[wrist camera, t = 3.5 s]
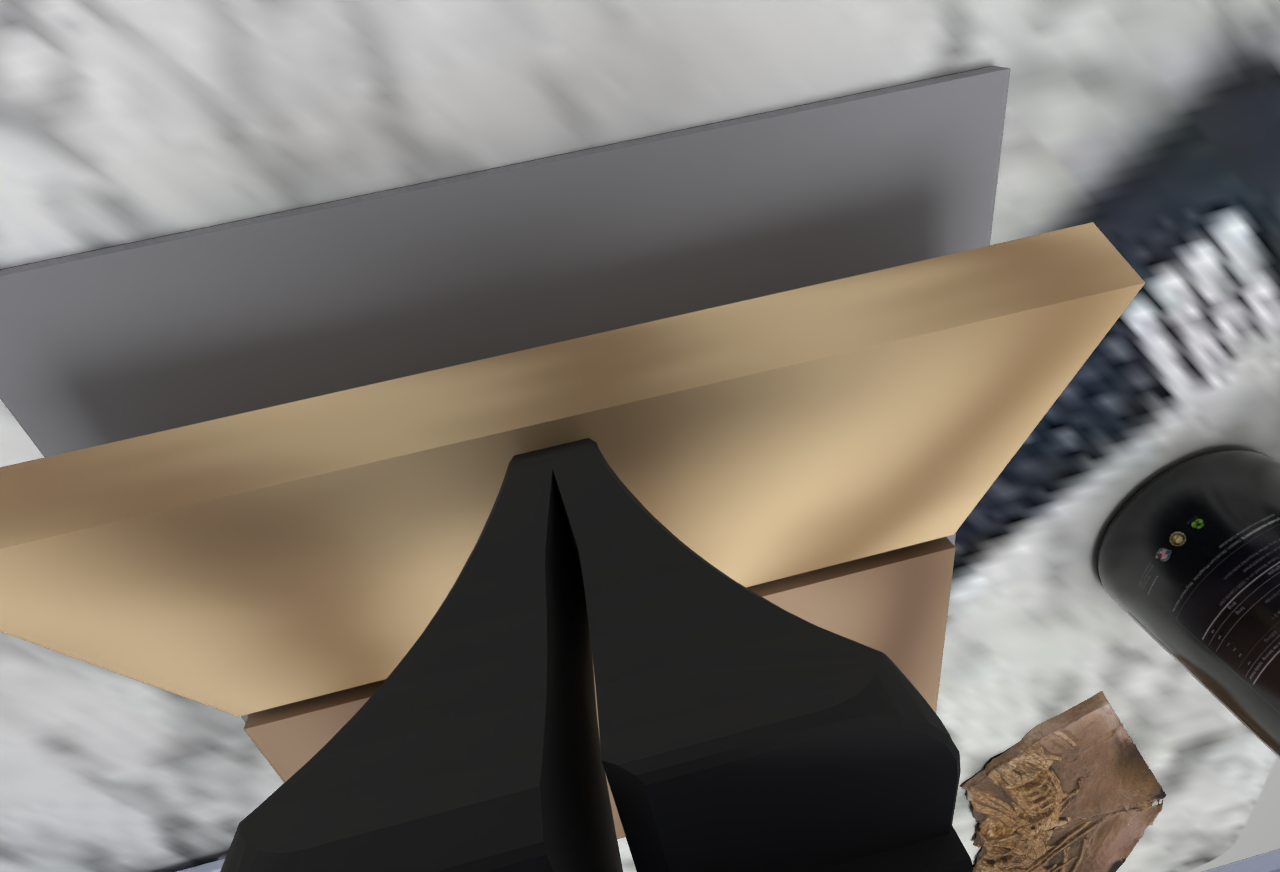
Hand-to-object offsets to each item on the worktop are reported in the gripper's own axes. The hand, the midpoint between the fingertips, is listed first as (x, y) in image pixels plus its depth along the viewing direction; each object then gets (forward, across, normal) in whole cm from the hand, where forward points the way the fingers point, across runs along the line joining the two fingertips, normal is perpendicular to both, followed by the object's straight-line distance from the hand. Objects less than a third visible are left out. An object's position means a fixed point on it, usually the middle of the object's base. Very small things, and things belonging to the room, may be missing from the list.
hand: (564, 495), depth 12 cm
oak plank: (+3, 0, +2) cm, 4 cm away
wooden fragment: (+7, -19, +34) cm, 40 cm away
